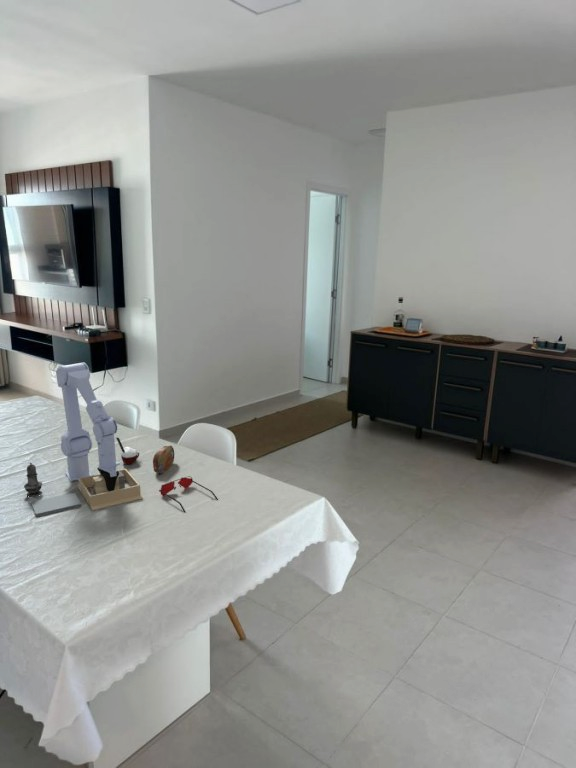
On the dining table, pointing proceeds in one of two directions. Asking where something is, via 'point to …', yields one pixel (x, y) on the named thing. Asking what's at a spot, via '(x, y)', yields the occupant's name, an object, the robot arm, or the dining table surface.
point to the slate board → (55, 504)
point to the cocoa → (128, 454)
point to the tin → (163, 459)
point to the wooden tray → (110, 492)
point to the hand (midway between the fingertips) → (109, 488)
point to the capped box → (100, 484)
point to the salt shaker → (32, 482)
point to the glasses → (183, 482)
